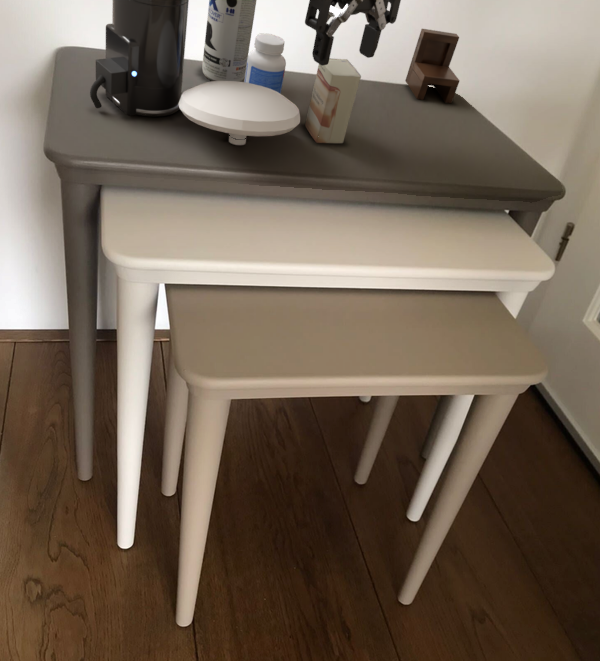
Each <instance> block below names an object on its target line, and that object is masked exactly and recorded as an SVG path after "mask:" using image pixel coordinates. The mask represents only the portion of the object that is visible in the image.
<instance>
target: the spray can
mask: <svg viewBox="0 0 600 661" xmlns="http://www.w3.org/2000/svg"><path fill="white" fill-rule="evenodd" d="M256 6H257V0H209V1H208V9H207V17H206V18H207V19H206V29H205V38H204V46H203V56H202V64H201V65H202V66H201V68H202V69H201V70H202V74H203V75H204V76H205V78H207V79H208V80H210V82H211V81H237V82H244V80H245V73H246V66H247V59H248V55H249V53H250V45H251V40H252V32H253V26H254V20H255V13H256Z"/></svg>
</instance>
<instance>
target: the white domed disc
mask: <svg viewBox="0 0 600 661" xmlns="http://www.w3.org/2000/svg"><path fill="white" fill-rule="evenodd" d="M178 104H179V108H180V109H179V110H180V112H182V114H183V115H184V117H185V118H187V119H188V120H189V121H191V122H192V123H195V125H198V126H200V127H204V128H206V129H209V130H212V131H217V132H221V133H225V134H228V143H230V144H232V145H235V146H244V145H246V143H247V136H249V137H273V136H281V135H284V134H287V133H290V132H291V131H293V130H294V129H295V128H296V127H298V126H299V124H300V123H301V114H300V109H299V107H298V106H297V105H296V104H295V103H294V102H292V101H291V100H289V99H288V98H287V97H286V96H284V95H283V94H282V93H281V94H280V93H278V92H277V91H274V90H272V89H269V88H266V87H263V86H259V85H255V84H251V83H245V82H244V81H242V82H237V81H211V80H210V81H206V82H202V83H200V84H197V85H195V86H193V87H191V88H188V89H185V90H184V91H183V92H182V93H181V98H180V101H179V103H178ZM229 135H230V136H231V137H233V138H236V139H244V138H246V139H245V140H235V139H233V138H231V137H230V136H229Z"/></svg>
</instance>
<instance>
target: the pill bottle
mask: <svg viewBox="0 0 600 661" xmlns="http://www.w3.org/2000/svg"><path fill="white" fill-rule="evenodd" d="M253 46H254V49H253V50H251V51H249V53H248V59H247V66H246V73H245V77H244V80H243V82H245V83H251V84H255V85H259V86H263V87H266V88H269V89H272V90H274V91H277V92H278V93H280V94H281V95H282V88H283V83H284V78H285V73H286V66H287V62H286V59H285V56H283V53H284V50H285V39H283V38H282V37H280V36H278V35H276V34H272V33H265V32H263V33H258V34H256V35H255V38H254V45H253Z"/></svg>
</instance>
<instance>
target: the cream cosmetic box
mask: <svg viewBox="0 0 600 661" xmlns="http://www.w3.org/2000/svg"><path fill="white" fill-rule="evenodd" d="M315 75H316V76H315V79H314V84H313V88H312V92H311V97H310V100H309V101H310V102H309V105H308V111H307V114H306V119H305V124H304V126H305V128H306V130H307V131H308V132H309V135H310V137H311V138H312V139H313V140H314V142H315V143H317V144H343V143H344V141H345V137H346V133H347V130H348V126H349V122H350V118H351V115H352V111H353V108H354V104H355V100H356V96H357V93H358V89H359V85H360V82H361V78H362V75H361V74H360V72H359V71H358V70H357V68H356V67H355V66H354V65H353V63H352V62H350V60H349V59H348V58H331V57H330V58H329V63H328V64H327V65H323V66H322V65H320V64H319V63H318V66H317V70H316V74H315ZM318 136H319V137H318Z"/></svg>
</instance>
